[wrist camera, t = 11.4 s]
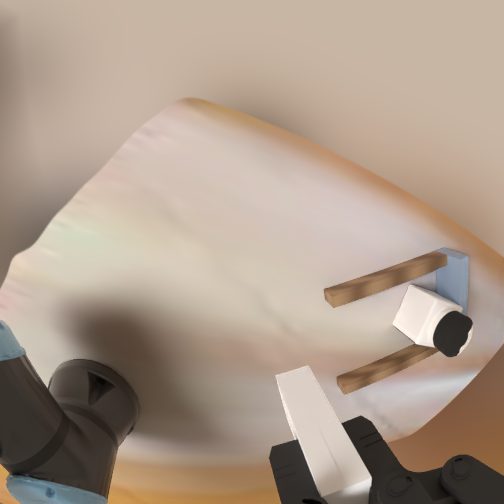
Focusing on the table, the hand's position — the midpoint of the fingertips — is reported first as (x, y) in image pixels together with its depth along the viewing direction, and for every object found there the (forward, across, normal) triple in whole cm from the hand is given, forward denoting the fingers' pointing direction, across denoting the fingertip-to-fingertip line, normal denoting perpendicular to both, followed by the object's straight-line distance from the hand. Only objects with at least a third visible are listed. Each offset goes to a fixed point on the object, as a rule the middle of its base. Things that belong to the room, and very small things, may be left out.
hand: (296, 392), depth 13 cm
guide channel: (+26, +20, -16) cm, 37 cm away
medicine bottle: (+27, +25, -16) cm, 40 cm away
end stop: (+26, +31, -16) cm, 44 cm away
